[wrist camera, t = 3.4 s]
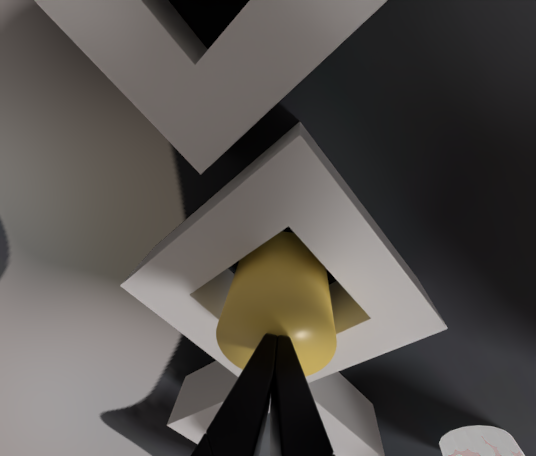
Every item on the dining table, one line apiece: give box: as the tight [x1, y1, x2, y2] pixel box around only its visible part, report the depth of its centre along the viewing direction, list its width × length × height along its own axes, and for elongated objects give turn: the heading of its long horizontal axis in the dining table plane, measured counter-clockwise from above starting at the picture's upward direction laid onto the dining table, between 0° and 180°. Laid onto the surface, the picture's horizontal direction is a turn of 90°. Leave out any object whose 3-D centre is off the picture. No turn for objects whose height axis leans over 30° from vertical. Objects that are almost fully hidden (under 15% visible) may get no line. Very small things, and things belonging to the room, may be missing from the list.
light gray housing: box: [167, 361, 385, 456], centre depth 17 cm, size 9×9×3 cm
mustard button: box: [216, 232, 337, 377], centre depth 11 cm, size 4×4×4 cm
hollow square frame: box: [120, 121, 448, 383], centre depth 12 cm, size 9×9×3 cm
